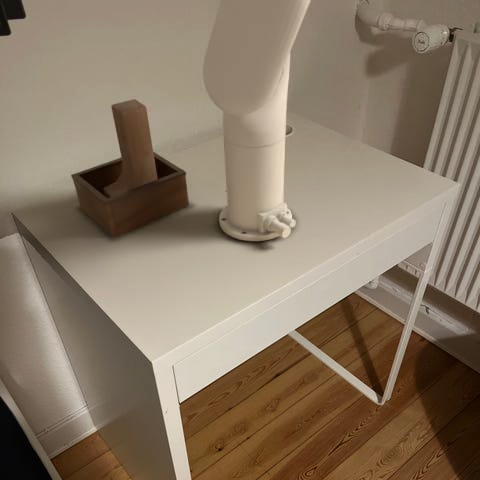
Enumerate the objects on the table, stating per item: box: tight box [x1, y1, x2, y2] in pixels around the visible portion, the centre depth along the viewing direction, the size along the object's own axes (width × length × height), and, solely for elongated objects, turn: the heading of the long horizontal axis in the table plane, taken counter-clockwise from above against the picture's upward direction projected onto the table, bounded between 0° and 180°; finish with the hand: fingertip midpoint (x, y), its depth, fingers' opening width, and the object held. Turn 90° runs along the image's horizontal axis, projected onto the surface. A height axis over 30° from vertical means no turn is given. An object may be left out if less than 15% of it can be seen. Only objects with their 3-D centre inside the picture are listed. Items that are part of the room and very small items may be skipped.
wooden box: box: [70, 151, 190, 238], centre depth 91 cm, size 13×16×7 cm
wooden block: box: [103, 98, 158, 199], centre depth 87 cm, size 9×4×18 cm, turn 124°
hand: (8, 26), depth 74 cm, fingers open, 9 cm apart
